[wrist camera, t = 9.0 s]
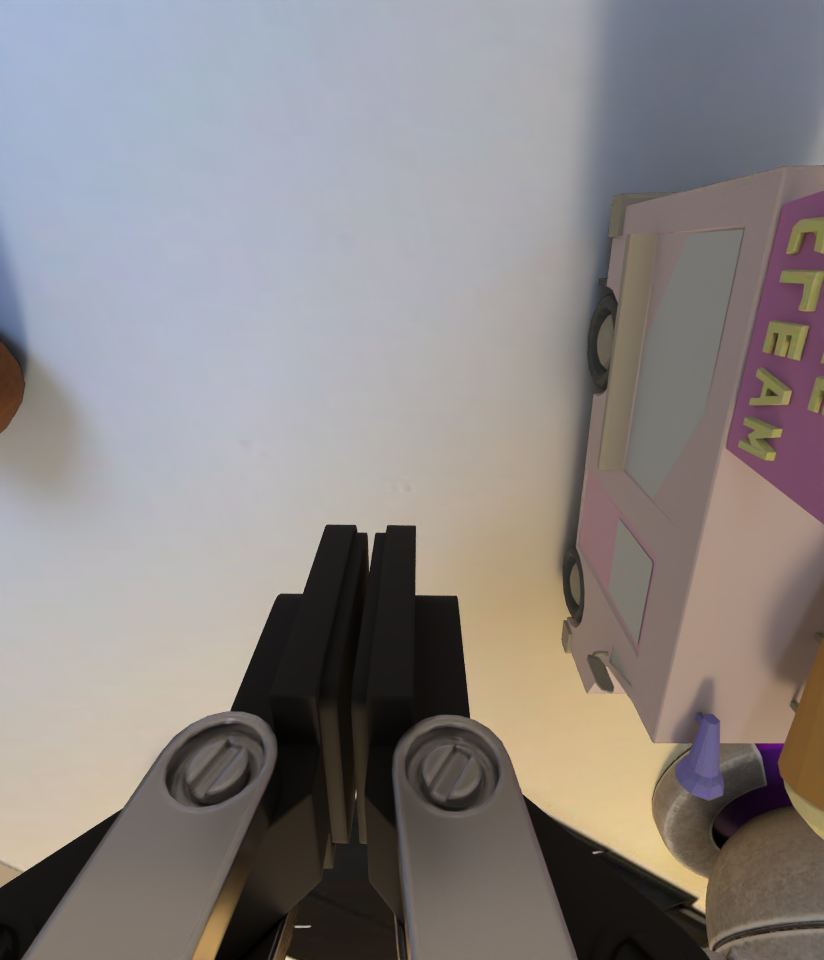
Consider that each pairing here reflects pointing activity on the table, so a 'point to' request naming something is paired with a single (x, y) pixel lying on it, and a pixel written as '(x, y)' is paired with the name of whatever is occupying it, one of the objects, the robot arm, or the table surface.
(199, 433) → the table surface
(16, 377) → the wooden figurine
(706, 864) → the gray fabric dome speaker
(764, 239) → the toy vehicle
